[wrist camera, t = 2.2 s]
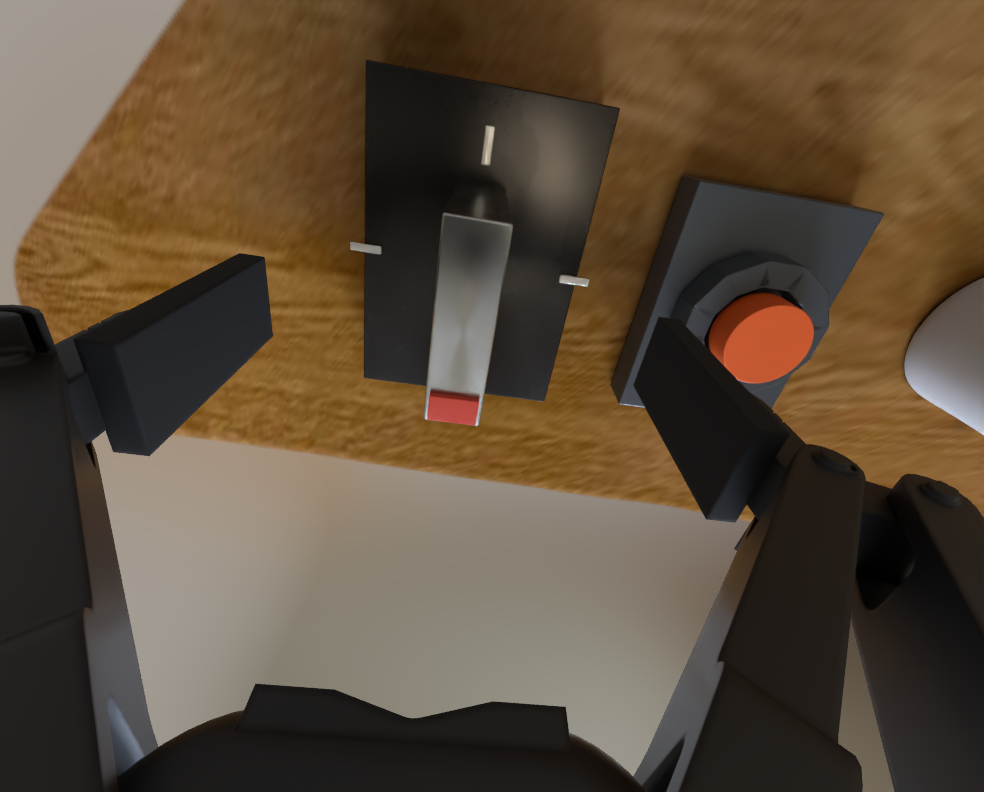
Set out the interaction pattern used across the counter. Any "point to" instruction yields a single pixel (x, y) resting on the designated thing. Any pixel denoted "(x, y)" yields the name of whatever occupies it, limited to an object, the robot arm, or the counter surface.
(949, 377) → the mug
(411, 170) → the panel
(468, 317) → the grey metallic block
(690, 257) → the button box
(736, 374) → the button
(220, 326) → the robot arm
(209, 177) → the counter surface
